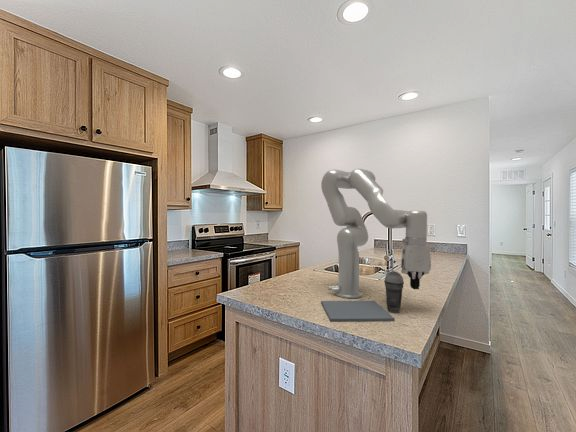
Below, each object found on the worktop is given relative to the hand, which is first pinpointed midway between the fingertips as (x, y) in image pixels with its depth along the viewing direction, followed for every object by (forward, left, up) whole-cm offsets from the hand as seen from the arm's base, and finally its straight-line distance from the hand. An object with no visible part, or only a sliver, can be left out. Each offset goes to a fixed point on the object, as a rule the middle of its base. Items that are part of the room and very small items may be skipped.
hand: (414, 288), depth 109 cm
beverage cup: (-8, 0, -9) cm, 12 cm away
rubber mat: (-24, 0, -9) cm, 26 cm away
